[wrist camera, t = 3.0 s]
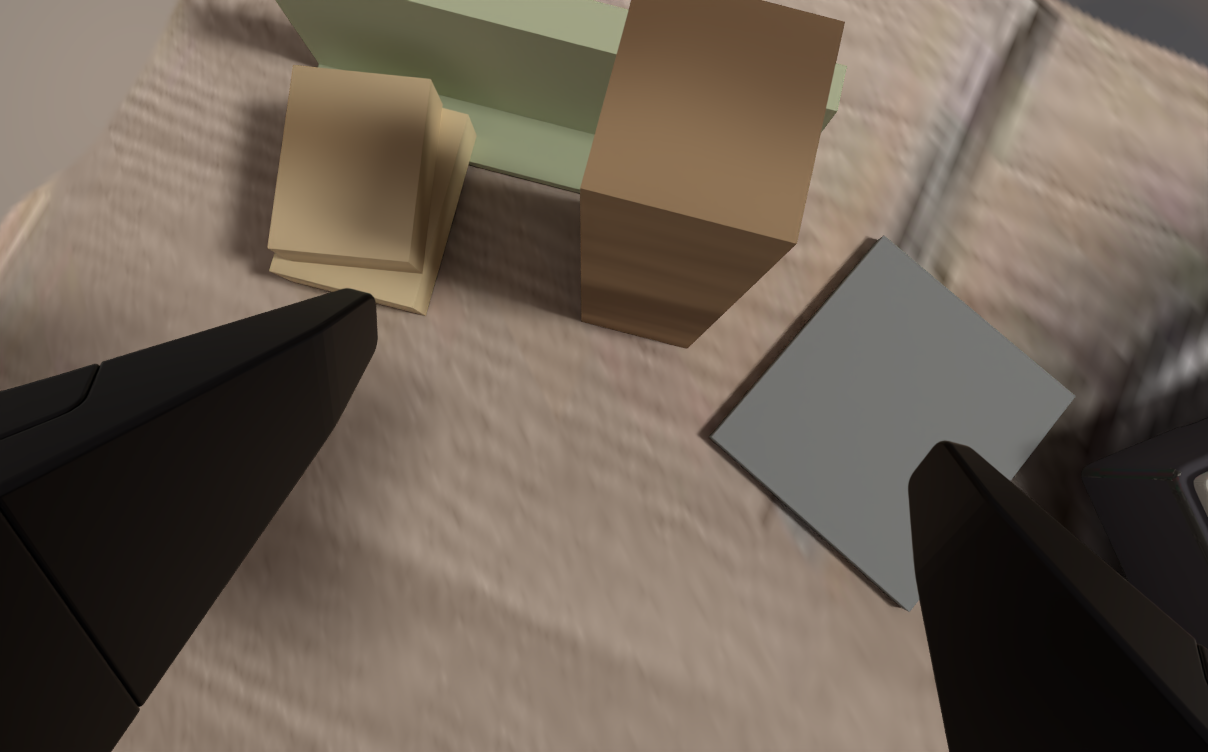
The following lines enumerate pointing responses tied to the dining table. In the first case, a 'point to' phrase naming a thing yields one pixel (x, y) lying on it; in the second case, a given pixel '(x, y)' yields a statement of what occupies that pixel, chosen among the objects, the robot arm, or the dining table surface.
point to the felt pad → (885, 409)
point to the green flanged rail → (492, 69)
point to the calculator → (1160, 520)
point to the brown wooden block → (700, 160)
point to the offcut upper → (356, 170)
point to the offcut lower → (447, 186)
